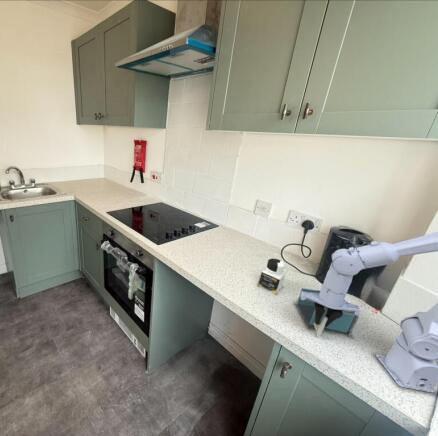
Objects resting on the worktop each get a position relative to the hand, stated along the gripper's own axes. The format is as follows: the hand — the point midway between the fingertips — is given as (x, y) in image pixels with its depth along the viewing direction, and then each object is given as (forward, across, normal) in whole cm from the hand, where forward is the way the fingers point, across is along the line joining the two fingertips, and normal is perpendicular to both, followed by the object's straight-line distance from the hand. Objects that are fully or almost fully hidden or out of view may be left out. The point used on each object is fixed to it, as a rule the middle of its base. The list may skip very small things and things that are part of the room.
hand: (320, 323), depth 76 cm
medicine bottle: (+5, +13, -21) cm, 26 cm away
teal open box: (+5, -3, -9) cm, 11 cm away
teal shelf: (+4, -4, -2) cm, 6 cm away
